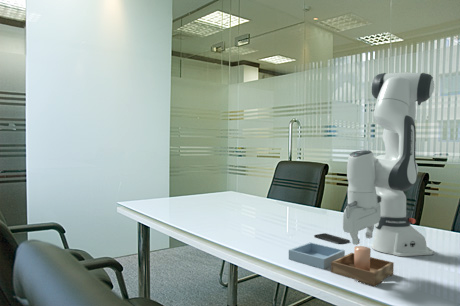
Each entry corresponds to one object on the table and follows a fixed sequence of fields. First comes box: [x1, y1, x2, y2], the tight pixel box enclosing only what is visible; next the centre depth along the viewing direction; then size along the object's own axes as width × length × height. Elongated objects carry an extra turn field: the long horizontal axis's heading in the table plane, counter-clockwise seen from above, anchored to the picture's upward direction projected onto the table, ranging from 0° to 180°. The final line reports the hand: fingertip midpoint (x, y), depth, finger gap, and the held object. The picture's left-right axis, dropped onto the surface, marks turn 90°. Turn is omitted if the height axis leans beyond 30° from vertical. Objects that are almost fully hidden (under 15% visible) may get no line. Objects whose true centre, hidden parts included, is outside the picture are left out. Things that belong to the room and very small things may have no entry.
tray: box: [330, 252, 395, 287], centre depth 116 cm, size 15×15×4 cm
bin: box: [288, 242, 346, 270], centre depth 129 cm, size 15×15×4 cm
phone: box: [313, 233, 351, 245], centre depth 159 cm, size 8×1×15 cm
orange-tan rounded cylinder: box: [353, 245, 371, 271], centre depth 116 cm, size 5×5×8 cm
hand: (362, 240), depth 116 cm, fingers open, 8 cm apart
